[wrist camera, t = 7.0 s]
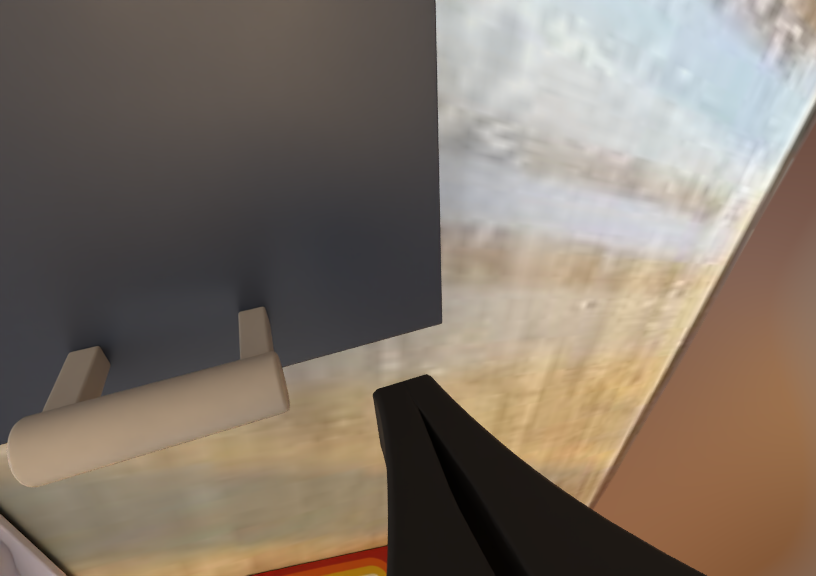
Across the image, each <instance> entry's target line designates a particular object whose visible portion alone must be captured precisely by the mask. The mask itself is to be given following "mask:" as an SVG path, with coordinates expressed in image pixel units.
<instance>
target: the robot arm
mask: <svg viewBox="0 0 816 576" xmlns="http://www.w3.org/2000/svg"><path fill="white" fill-rule="evenodd" d="M373 399H374V405H375V412H376V418H377V425H378V431H379V438H380V444H381V448H382V451H383V455H384V458H385V463H386V467H387V483H388V551H387V575H386V576H707V575H705V574H703V573H701V572H699V571H697V570H695V569H694V568H691V567H690V566H688V565H686V564H684V563H682V562H680V561H679V560H677V559H675V558H673V557H671V556H669V555H667V554H665V553H664V552H662V551H660V550H658V549H657V548H655V547H653V546H652V545H650V544H648V543H647V542H644V541H643V540H641V539H640V538H638V537H636V536H634V535H633V534H631V533H629V532H628V531H626V530H624V529H622V528H621V527H619V526H617V525H616V524H614V523H612V522H611V521H609V520H607V519H606V518H604V517H602V516H601V515H600V514H598V513H597V512H595V511H593V510H592V509H590V508H589V507H587V506H586V505H584V504H583V503H581V502H579V501H578V500H577V499H575V498H574V497H572V496H571V495H569V494H568V493H566V492H565V491H563V490H562V489H561V488H559V487H558V486H556V485H555V484H553V483H552V482H551V481H549V480H548V479H547V478H545V477H544V476H543V475H541V474H540V473H539V472H537V471H536V470H534V469H533V468H532V467H531V466H529V465H528V464H527V463H526V462H524V461H523V460H522V459H520V458H519V457H518V456H517V455H515V454H514V453H513V452H512V451H510V450H509V449H508V448H507V447H506V446H504V445H503V444H502V443H501V442H500V441H498V440H497V439H496V438H495V437H494V436H493V435H491V434H490V433H489V432H488V431H487V430H486V429H485V428H483V427H482V426H481V425H480V424H479V423H478V422H477V421H476V420H474V419H473V418H472V417H471V416H470V415H469V414H468V413H467V412H466V411H465V410H464V409H463V408H462V407H461V406H460V405H458V404H457V403H456V402H455V401H454V400H453V399H452V398H451V397H450V396H449V395H448V394H447V393H446V392H445V391H444V390H443V389H442V388H441V386H440V385H439V384H438V383H437V382H436V381H435V380H434V379H433V378H432V377H431V376H429V375H427V374H426V375H422V376H419V377H416V378H412V379H409V380H406V381H403V382H399V383H396V384H393V385H389V386H386V387H383V388H379V389H377V390H376V391H375V392H374V393H373ZM0 576H67V575H66V574H65V573H64V572H63V571H61V570H60V569H59V568H58V567H57V566H56V565H55V564H54V563H53V562H52V561H51V560H50V559H48V558H47V557H46V556H45V555H44V554H43V553H42V552H41V551H40V550H39V549H38V548H37V547H36V546H34V545H33V544H32V543H31V542H30V541H29V540H28V539H27V538H26V537H25V536H24V535H23V534H22V533H20V532H19V531H18V530H17V529H16V528H15V527H14V526H13V525H12V524H11V523H10V522H9V521H7V520H6V519H5V518H4V517H3V516H2V515H1V514H0Z"/></svg>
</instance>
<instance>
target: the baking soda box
mask: <svg viewBox="0 0 816 576" xmlns="http://www.w3.org/2000/svg"><path fill="white" fill-rule="evenodd" d="M387 551H388V546H384V547H380V548H375V549H370V550H366V551H361V552H357V553H352V554H347V555H343V556H338V557H333V558H329V559H324V560H320V561H315V562H310V563H306V564H301V565H297V566H292V567H287V568H283V569H278V570H274V571H269V572H264V573H260V574H255V575H251V576H386V575H387Z"/></svg>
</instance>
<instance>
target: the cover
mask: <svg viewBox="0 0 816 576" xmlns="http://www.w3.org/2000/svg"><path fill="white" fill-rule="evenodd" d="M441 323H442V292H441V244H440V196H439V148H438V99H437V51H436V3H435V0H0V445H1V444H5V443H7V458H8V463H9V467H10V469H11V472H12V474H13V475H14V477H15V478H16V479H17V481H18V482H20V483H21V484H22V485H24V486H27V487H39V486H42V485H46V484H49V483H52V482H56V481H59V480H62V479H66V478H69V477H72V476H76V475H79V474H82V473H86V472H89V471H92V470H96V469H99V468H102V467H106V466H109V465H112V464H116V463H119V462H122V461H126V460H129V459H132V458H136V457H139V456H142V455H146V454H149V453H152V452H156V451H159V450H162V449H166V448H169V447H172V446H176V445H179V444H182V443H186V442H189V441H192V440H196V439H199V438H202V437H206V436H209V435H212V434H216V433H219V432H222V431H226V430H229V429H232V428H236V427H239V426H242V425H245V424H249V423H252V422H255V421H259V420H262V419H265V418H269V417H272V416H275V415H279V414H282V413H285V412H287V411H289V408H290V402H289V396H288V390H287V386H286V381H285V377H284V373H283V369H282V367H285V366H289V365H293V364H296V363H300V362H304V361H307V360H311V359H314V358H318V357H322V356H325V355H329V354H333V353H336V352H340V351H344V350H347V349H351V348H355V347H358V346H362V345H365V344H369V343H373V342H376V341H380V340H384V339H387V338H391V337H395V336H398V335H402V334H405V333H409V332H413V331H416V330H420V329H424V328H427V327H431V326H435V325H438V324H441Z"/></svg>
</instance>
